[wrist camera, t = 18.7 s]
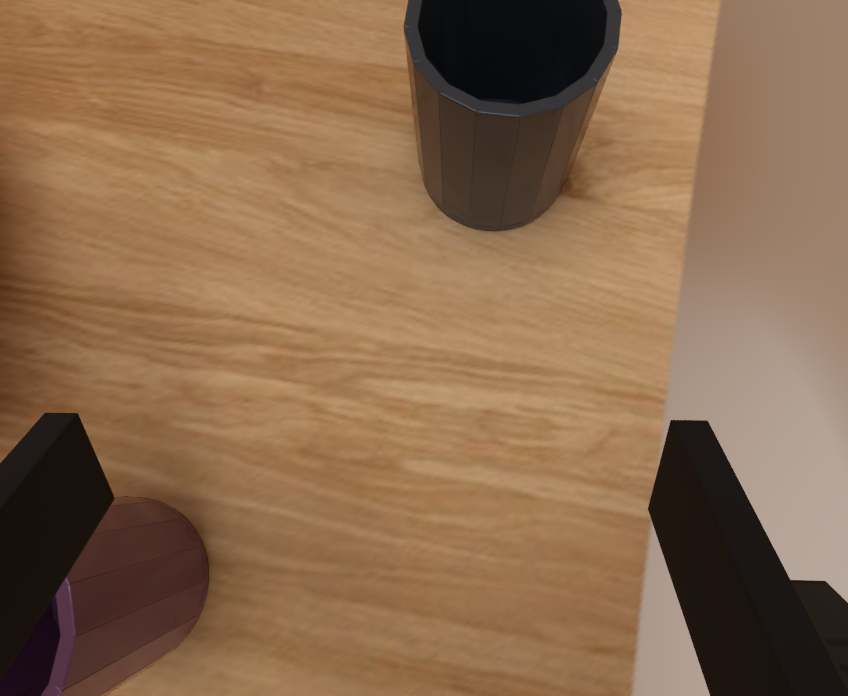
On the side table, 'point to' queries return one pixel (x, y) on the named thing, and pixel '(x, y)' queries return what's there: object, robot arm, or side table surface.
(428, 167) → the slate cup
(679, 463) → the robot arm
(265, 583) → the side table surface
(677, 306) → the side table surface
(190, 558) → the plum cup
